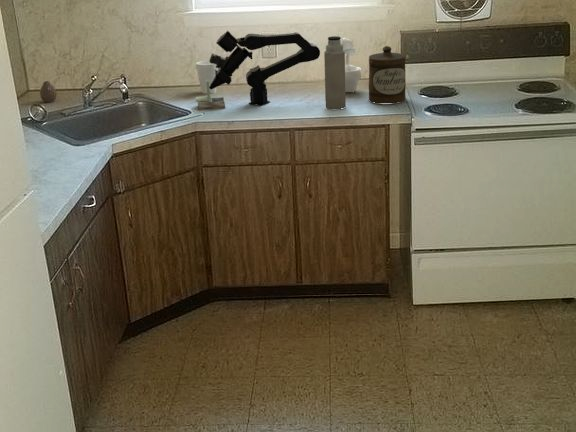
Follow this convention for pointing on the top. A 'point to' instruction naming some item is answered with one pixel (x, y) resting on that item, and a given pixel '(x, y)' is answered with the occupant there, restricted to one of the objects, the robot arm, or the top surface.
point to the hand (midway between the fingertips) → (210, 88)
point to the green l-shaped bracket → (205, 98)
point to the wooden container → (387, 77)
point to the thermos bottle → (334, 74)
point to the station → (212, 104)
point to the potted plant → (350, 67)
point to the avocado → (48, 92)
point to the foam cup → (206, 75)
